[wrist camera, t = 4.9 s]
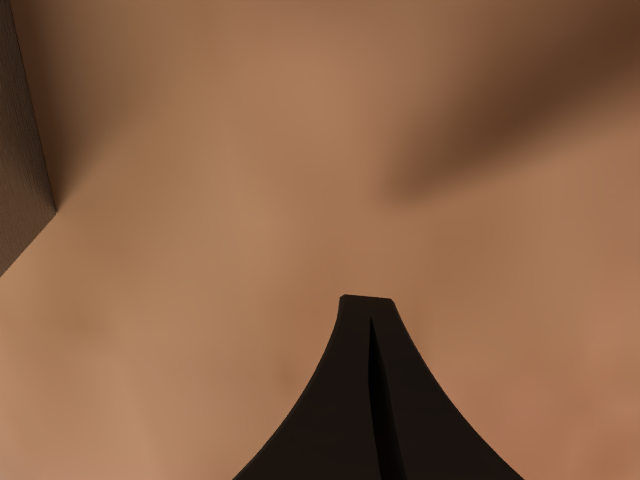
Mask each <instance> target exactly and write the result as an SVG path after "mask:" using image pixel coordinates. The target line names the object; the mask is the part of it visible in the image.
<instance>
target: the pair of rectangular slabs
mask: <svg viewBox="0 0 640 480" xmlns="http://www.w3.org/2000/svg"><path fill="white" fill-rule="evenodd" d="M55 215H56V211H55V207H54V202H53V198H52V194H51V189H50V185H49V180H48V176H47V171H46V167H45V162H44V158H43V153H42V149H41V144H40V140H39V135H38V131H37V126H36V122H35V117H34V113H33V108H32V104H31V100H30V95H29V91H28V86H27V82H26V77H25V73H24V68H23V64H22V59H21V55H20V50H19V46H18V41H17V37H16V32H15V28H14V23H13V19H12V15H11V10H10V6H9V1H8V0H0V277H1V276H2V275H3V274H4V273H5V271H6V270H7V269H8V268H9V267H10V266H11V265H12V264H13V262H14V261H15V260H16V259H17V258H18V257H19V256H20V255H21V253H22V252H23V251H24V250H25V249H26V248H27V247H28V246H29V244H30V243H31V242H32V241H33V240H34V239H35V238H36V237H37V235H38V234H39V233H40V232H41V231H42V230H43V229H44V228H45V226H46V225H47V224H48V223H49V222H50V221H51V220H52V219H53V217H54V216H55Z"/></svg>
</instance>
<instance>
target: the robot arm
mask: <svg viewBox="0 0 640 480" xmlns="http://www.w3.org/2000/svg"><path fill="white" fill-rule="evenodd" d="M232 480H524V479H523V478H522V477H521V476H520V475H519V474H518V473H517V472H515V471H514V470H513V469H512V468H511V467H510V466H509V465H508V464H507V463H506V462H505V461H504V460H503V459H502V458H501V457H500V456H499V455H498V454H497V453H496V452H495V451H494V450H493V449H492V448H491V447H490V446H489V445H488V444H487V443H486V442H485V441H484V440H483V439H482V438H481V436H480V435H479V434H478V433H477V432H476V431H475V430H474V429H473V428H472V426H471V425H470V424H469V423H468V422H467V420H466V419H465V418H464V417H463V416H462V414H461V413H460V412H459V411H458V409H457V408H456V407H455V406H454V404H453V403H452V402H451V400H450V399H449V398H448V396H447V395H446V394H445V392H444V391H443V389H442V388H441V387H440V385H439V384H438V382H437V381H436V379H435V378H434V376H433V375H432V373H431V372H430V370H429V368H428V367H427V365H426V364H425V362H424V360H423V359H422V357H421V355H420V353H419V352H418V350H417V348H416V347H415V345H414V343H413V341H412V339H411V337H410V336H409V334H408V332H407V330H406V328H405V326H404V324H403V322H402V320H401V317H400V315H399V313H398V311H397V308H396V306H395V304H394V302H393V301H392V300H391V299H389V298H378V297H368V296H357V295H346V294H345V295H343V296H341V297H340V300H339V307H338V314H337V320H336V323H335V326H334V329H333V332H332V334H331V337H330V339H329V342H328V344H327V347H326V349H325V352H324V354H323V356H322V358H321V360H320V362H319V364H318V366H317V368H316V370H315V372H314V374H313V376H312V377H311V379H310V381H309V383H308V384H307V386H306V388H305V389H304V391H303V393H302V394H301V396H300V398H299V399H298V401H297V402H296V404H295V405H294V407H293V408H292V409H291V411H290V412H289V414H288V415H287V417H286V418H285V419H284V421H283V422H282V424H281V425H280V426H279V428H278V429H277V430H276V431H275V432H274V434H273V435H272V436H271V437H270V439H269V440H268V441H267V442H266V444H265V445H264V446H263V447H262V448H261V450H260V451H259V452H258V453H257V454H256V455H255V456H254V457H253V459H252V460H251V461H250V462H249V463H248V464H247V465H246V466H245V467H244V468H243V469H242V470H241V471H240V472H239V473H238V474H237V475H236V476H235V477H234V478H233V479H232Z"/></svg>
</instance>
